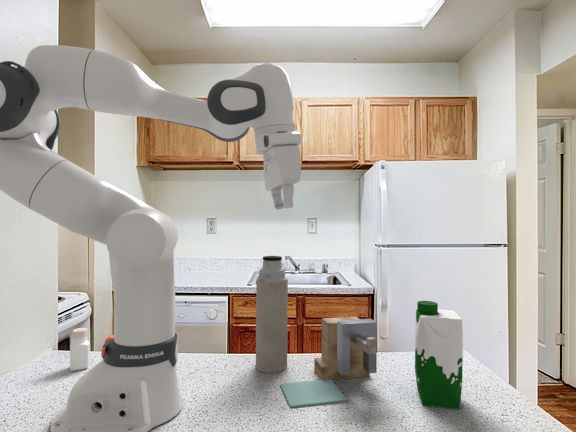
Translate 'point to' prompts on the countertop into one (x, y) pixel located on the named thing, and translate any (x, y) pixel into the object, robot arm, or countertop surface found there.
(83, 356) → the salt shaker
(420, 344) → the milk carton
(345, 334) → the grey arched block
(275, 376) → the countertop surface
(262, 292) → the thermos bottle
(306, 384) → the mat
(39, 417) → the countertop surface
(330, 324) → the wooden peg hook block
